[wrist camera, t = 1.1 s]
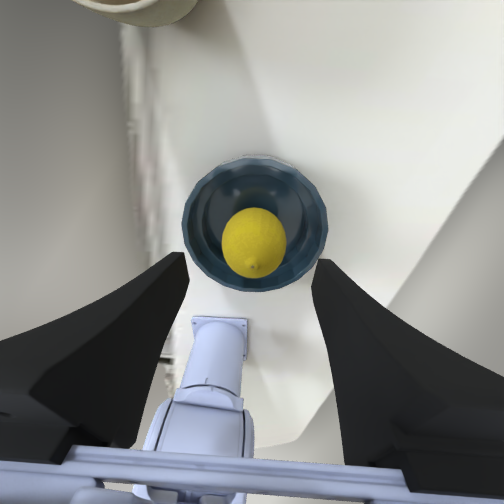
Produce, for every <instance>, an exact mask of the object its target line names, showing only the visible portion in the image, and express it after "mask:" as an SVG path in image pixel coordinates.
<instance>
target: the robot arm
mask: <svg viewBox="0 0 504 504" xmlns="http://www.w3.org/2000/svg"><path fill="white" fill-rule="evenodd" d="M189 281H190V279H189V275H188V270H187V265H186V260H185V255H184V252H172V253H170V254H169V255H167V256H166V257H164V258H163V259H161V260H160V261H159V262H157V263H156V264H155V265H153V266H152V267H150V268H149V269H147V270H146V271H145V272H143V273H142V274H140V275H139V276H137V277H136V278H134V279H133V280H131V281H129V282H128V283H126V284H125V285H123V286H122V287H120V288H118V289H117V290H115V291H113V292H112V293H110V294H108V295H106V296H104V297H102V298H101V299H99V300H97V301H95V302H93V303H91V304H89V305H87V306H85V307H83V308H81V309H78V310H77V311H74V312H72V313H70V314H68V315H66V316H63V317H61V318H59V319H56V320H54V321H52V322H49V323H47V324H44V325H42V326H39V327H37V328H34V329H32V330H29V331H27V332H24V333H21V334H18V335H15V336H13V337H10V338H7V339H4V340H2V341H0V504H246V497H247V493H251V494H263V495H276V496H289V497H301V498H313V499H326V500H338V501H351V502H363V503H364V504H504V377H503V376H501V375H499V374H497V373H495V372H493V371H491V370H489V369H487V368H485V367H483V366H481V365H478V364H477V363H475V362H473V361H471V360H469V359H467V358H465V357H463V356H461V355H459V354H458V353H456V352H454V351H452V350H451V349H449V348H447V347H445V346H443V345H442V344H440V343H438V342H436V341H435V340H433V339H431V338H430V337H428V336H426V335H425V334H423V333H422V332H420V331H418V330H417V329H415V328H414V327H412V326H411V325H409V324H407V323H406V322H404V321H403V320H402V319H400V318H398V317H397V316H396V315H394V314H393V313H392V312H390V311H389V310H388V309H386V308H385V307H383V306H382V305H381V304H380V303H378V302H377V301H376V300H375V299H373V298H372V297H371V296H370V295H369V294H367V293H366V292H365V291H364V290H363V289H361V288H360V287H359V286H358V285H357V284H356V283H355V282H354V281H353V280H352V279H351V278H349V277H348V276H347V275H346V274H345V273H344V272H343V271H342V270H341V269H340V268H339V267H338V266H337V265H336V264H335V263H334V262H333V261H332V260H330V259H318V263H317V266H316V270H315V274H314V278H313V281H312V285H311V290H312V297H313V303H314V307H315V310H316V314H317V317H318V320H319V324H320V327H321V330H322V334H323V337H324V340H325V344H326V348H327V352H328V357H329V362H330V367H331V372H332V378H333V384H334V389H335V395H336V402H337V408H338V415H339V422H340V430H341V437H342V445H343V454H344V462H345V465H334V464H322V463H308V462H294V461H282V460H268V459H255V458H253V456H254V424H253V419H252V417H251V415H250V413H249V411H248V410H246V409H243V401H244V399H243V398H240V393H241V379H242V365H243V361H245V360H246V359H247V322H248V321H247V320H246V319H235V318H212V317H192V319H191V323H192V328H193V334H194V339H195V340H194V344H193V347H192V350H191V353H190V356H189V360H188V363H187V366H186V369H185V372H184V375H183V379H182V382H181V385H180V388H177V389H176V393H175V396H174V399H172V398H167V399H166V400H165V401H164V402H163V403H161V404H160V406H159V407H158V409H157V411H156V414H155V416H154V419H153V421H152V423H151V426H150V428H149V431H148V434H147V437H146V440H145V443H144V446H143V449H142V450H135V449H129V448H130V447H132V445H133V444H134V443H135V442H136V439H137V435H138V430H139V427H140V423H141V419H142V415H143V411H144V407H145V404H146V400H147V397H148V393H149V390H150V386H151V383H152V380H153V376H154V373H155V370H156V367H157V364H158V361H159V358H160V355H161V352H162V349H163V346H164V343H165V340H166V338H167V335H168V333H169V331H170V329H171V327H172V324H173V322H174V320H175V318H176V316H177V313H178V311H179V309H180V307H181V305H182V302H183V300H184V298H185V295H186V292H187V289H188V285H189ZM195 322H196V323H195ZM243 324H244V325H243ZM103 482H112V483H125V484H134V486H133V490H132V493H131V492H124V491H118V490H110V489H105V486H104V483H103Z"/></svg>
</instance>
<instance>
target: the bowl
mask: <svg viewBox="0 0 504 504" xmlns="http://www.w3.org/2000/svg"><path fill="white" fill-rule="evenodd" d="M253 207H255V208H262V209H265V210H267V211H269V212H271V213H272V214H274V215H275V216H276V217H277V218H278V220H279V221H280V222H281V224H282V226H283V228H284V230H285V235H286V250H285V255H284V257H283V260H282V262H281V264H280V265H279V266H278V267H277V269H276V270H274V271H273V272H272V273H270V274H269V275H267V276H264V277H260V278H247V277H244V276H241V275H239V274H237V273H236V272H235V271H233V270H232V269H231V268H230V266H229V265H228V264H227V262H226V260H225V258H224V255H223V250H222V236H223V232H224V229H225V227H226V224H227V223H228V222H229V220H230V219H231V218H232V216H234V215H235V214H236V213H238V212H239V211H241V210H244V209H246V208H253ZM182 231H183V237H184V243H185V246H186V248H187V250H188V252H189V254H190V256H191V258H192V259H193V261H194V263H195V264H196V265H197V266H198V267H199V268H200V269H201V270H202V271H203V272H204V273H205V274H206V275H207V276H208V277H210V278H211V279H213V280H215V281H216V282H218V283H220V284H222V285H223V286H226V287H229V288H233V289H236V290H239V291H245V292H265V291H270V290H275V289H280V288H282V287H284V286H287V285H289V284H291V283H293V282H295V281H297V280H299V279H300V278H301V277H302V276H303V275H304V274H305V273H307V272H308V271H309V270H310V269H311V268H312V267H313V266H314V264H315V263H316V261H317V259H318V258H319V256H320V255H321V253H322V251H323V249H324V246H325V241H326V237H327V233H328V221H327V213H326V207H325V205H324V203H323V201H322V199H321V197H320V195H319V193H318V191H317V189H316V187H315V186H314V185H313V184H312V183H311V182H310V181H309V180H308V179H307V178H305V177H304V176H303V175H302V174H301V173H300V172H299V171H298V170H297V169H295V168H294V167H293V166H292V165H290V164H289V163H286V162H284V161H281V160H279V159H277V158H274V157H272V156H268V155H243V156H240V157H237V158H234V159H231V160H228V161H225V162H223V163H222V164H220V165H219V166H218V167H216V168H215V169H214V170H212V171H211V172H210V173H209V174H207V175H206V176H205V177H203V178H202V179H201V180H200V181H198V183H197V184H196V186H195V187H194V189H193V191H192V192H191V194H190V196H189V197H188V199H187V200H186V203H185V207H184V213H183V218H182Z"/></svg>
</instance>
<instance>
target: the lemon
mask: <svg viewBox="0 0 504 504" xmlns="http://www.w3.org/2000/svg"><path fill="white" fill-rule="evenodd" d="M222 250H223V255H224V258H225V260H226V262H227V264H228V265H229V266H230V268H231V269H232V270H233V271H235V272H236V273H237V274H239V275H241V276H244V277H247V278H260V277H264V276H267V275H269V274H270V273H272V272H273V271H274V270H276V269H277V267H278V266H279V265H280V264H281V262H282V260H283V257H284V255H285V250H286V235H285V230H284V228H283V226H282V224H281V222H280V221H279V220H278V218H277V217H276V216H275V215H274V214H272V213H271V212H269V211H267V210H265V209H262V208H255V207H253V208H246V209H244V210H241V211H239V212H238V213H236V214H235V215H234V216H232V218H231V219H230V220H229V222H228V223H227V224H226V227H225V229H224V232H223V236H222Z"/></svg>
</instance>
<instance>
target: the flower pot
mask: <svg viewBox="0 0 504 504" xmlns="http://www.w3.org/2000/svg"><path fill="white" fill-rule="evenodd" d="M72 1H74V2H76V3H78V4H79V5H81V6H83V7H85V8H87V9H89V10H91V11H93V12H95V13H98V14H100V15H102V16H104V17H107V18H110V19H112V20H115V21H118V22H122V23H125V24H129V25H134V26H142V27H159V26H165V25H169V24H172V23H174V22H176V21H178V20H180V19H181V18H183V17H184V16H186V15H187V14H188V13H189V12H190V11H191V10H192V8H193V7H194V6H195V5H196V3H197V2H198V0H72Z"/></svg>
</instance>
